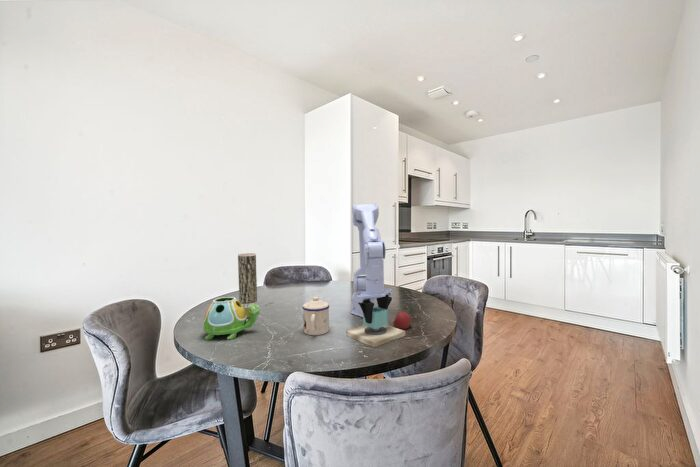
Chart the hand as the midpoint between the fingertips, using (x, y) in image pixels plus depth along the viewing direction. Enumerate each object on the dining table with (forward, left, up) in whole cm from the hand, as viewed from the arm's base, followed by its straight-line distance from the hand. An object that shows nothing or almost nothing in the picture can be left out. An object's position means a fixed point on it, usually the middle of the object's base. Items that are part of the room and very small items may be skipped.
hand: (375, 320), depth 97 cm
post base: (0, 0, -5) cm, 5 cm away
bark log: (-49, -23, -5) cm, 55 cm away
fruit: (+2, +13, -5) cm, 14 cm away
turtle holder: (-34, -35, -5) cm, 49 cm away
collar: (0, 0, -1) cm, 1 cm away
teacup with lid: (-15, -13, -5) cm, 21 cm away
